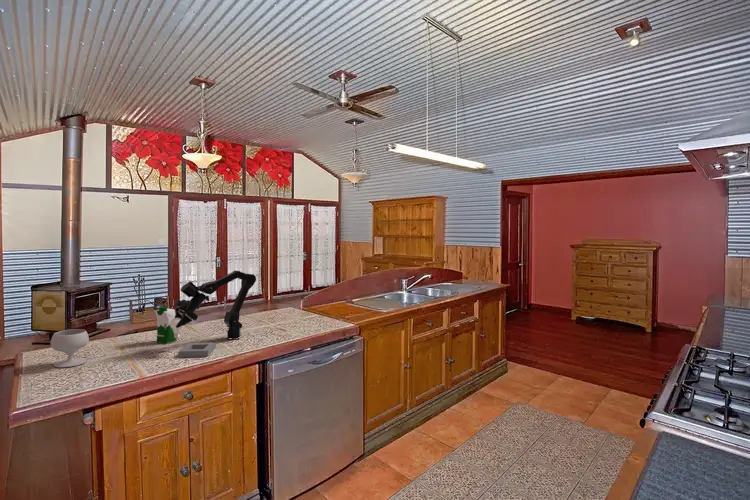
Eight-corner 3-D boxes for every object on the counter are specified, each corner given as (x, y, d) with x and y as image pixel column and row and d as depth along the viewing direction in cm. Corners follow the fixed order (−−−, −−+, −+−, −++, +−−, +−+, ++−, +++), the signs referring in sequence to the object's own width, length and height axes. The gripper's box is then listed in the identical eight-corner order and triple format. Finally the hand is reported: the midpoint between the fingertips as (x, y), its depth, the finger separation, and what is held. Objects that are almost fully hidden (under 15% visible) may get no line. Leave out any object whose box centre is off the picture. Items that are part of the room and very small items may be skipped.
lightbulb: (173, 336, 204) (172, 316, 203) (185, 336, 205) (185, 316, 204) (168, 340, 198) (167, 319, 197) (180, 340, 198) (180, 319, 198)
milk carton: (153, 342, 213) (153, 307, 212) (167, 338, 222) (167, 304, 221) (166, 344, 211) (165, 308, 210) (179, 340, 219) (178, 305, 218)
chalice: (69, 370, 171) (68, 337, 170) (43, 368, 173) (42, 335, 173) (96, 359, 185) (96, 329, 184) (72, 358, 187) (71, 327, 186)
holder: (216, 348, 205) (216, 342, 205) (208, 356, 191) (208, 350, 191) (188, 348, 203) (188, 343, 203) (178, 357, 190) (178, 351, 189)
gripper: (177, 291, 209) (155, 314, 202) (191, 295, 196) (168, 320, 189) (192, 303, 215) (171, 326, 208) (206, 308, 203) (185, 333, 195)
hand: (174, 326), depth 200 cm, fingers closed on lightbulb, 6 cm apart
